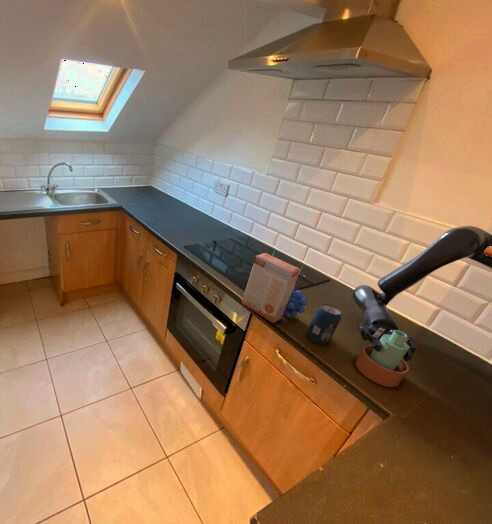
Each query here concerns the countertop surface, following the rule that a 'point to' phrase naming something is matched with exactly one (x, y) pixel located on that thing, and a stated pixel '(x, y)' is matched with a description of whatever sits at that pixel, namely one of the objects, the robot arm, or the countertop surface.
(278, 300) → the cracker box
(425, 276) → the robot arm
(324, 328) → the soda can
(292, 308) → the grapes
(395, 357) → the bottle
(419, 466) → the countertop surface
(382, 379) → the terracotta bowl
